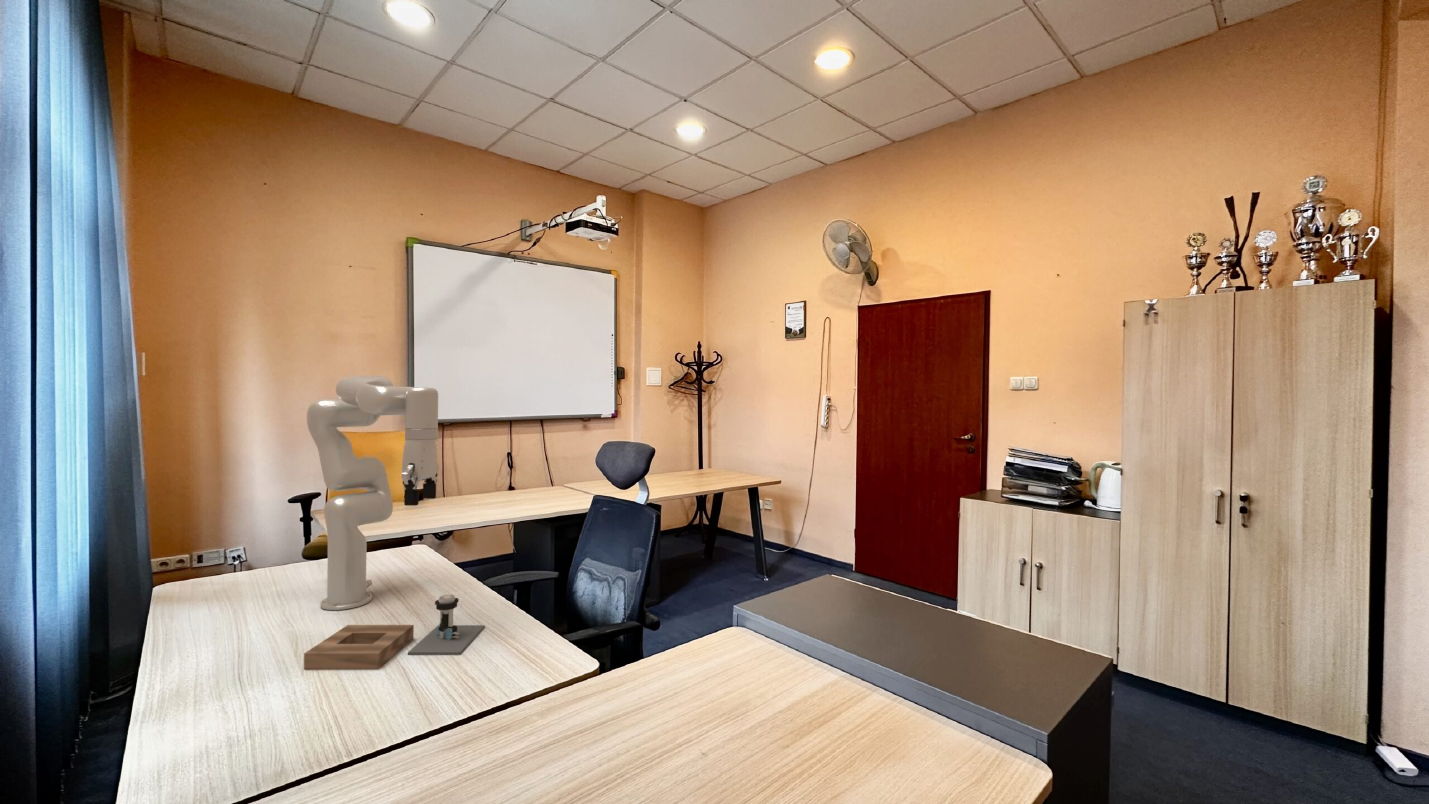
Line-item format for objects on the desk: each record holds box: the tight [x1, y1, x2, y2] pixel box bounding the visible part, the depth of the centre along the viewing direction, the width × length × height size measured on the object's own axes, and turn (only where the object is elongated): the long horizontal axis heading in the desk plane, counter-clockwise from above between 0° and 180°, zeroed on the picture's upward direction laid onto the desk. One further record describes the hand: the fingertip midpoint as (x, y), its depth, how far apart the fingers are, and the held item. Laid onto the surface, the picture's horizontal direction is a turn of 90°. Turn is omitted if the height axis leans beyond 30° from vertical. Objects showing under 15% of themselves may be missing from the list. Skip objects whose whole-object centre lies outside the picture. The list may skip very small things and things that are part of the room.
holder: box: [303, 624, 415, 670], centre depth 134 cm, size 16×16×4 cm
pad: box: [407, 624, 486, 656], centre depth 142 cm, size 16×12×1 cm
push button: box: [434, 594, 460, 640], centre depth 142 cm, size 7×5×10 cm
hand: (420, 501), depth 147 cm, fingers open, 9 cm apart
